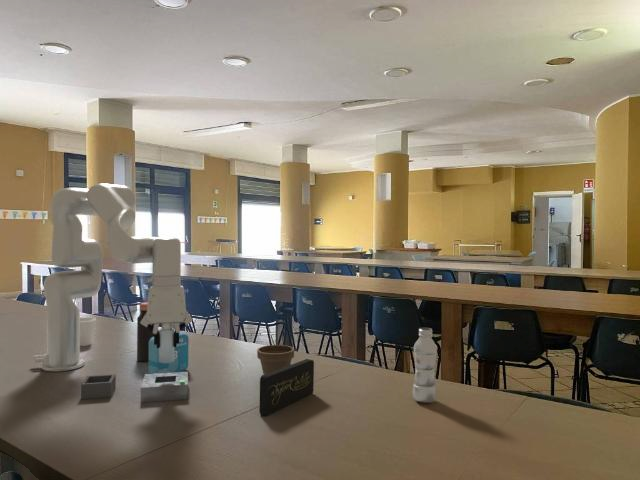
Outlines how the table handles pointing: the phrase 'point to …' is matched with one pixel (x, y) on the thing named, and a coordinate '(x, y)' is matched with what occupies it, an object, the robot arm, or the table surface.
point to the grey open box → (98, 386)
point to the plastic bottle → (424, 367)
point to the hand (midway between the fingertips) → (166, 345)
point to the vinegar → (143, 336)
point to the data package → (179, 357)
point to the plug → (166, 343)
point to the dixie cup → (86, 330)
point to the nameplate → (286, 386)
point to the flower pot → (275, 357)
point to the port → (164, 387)
